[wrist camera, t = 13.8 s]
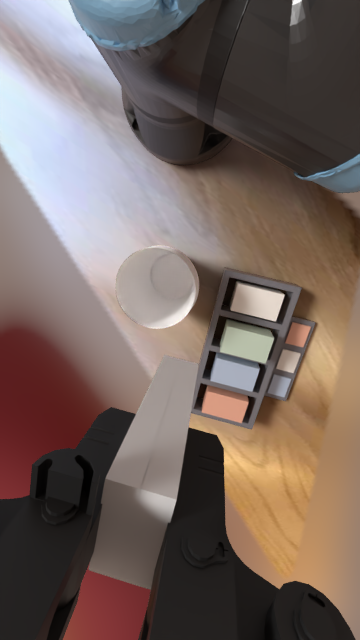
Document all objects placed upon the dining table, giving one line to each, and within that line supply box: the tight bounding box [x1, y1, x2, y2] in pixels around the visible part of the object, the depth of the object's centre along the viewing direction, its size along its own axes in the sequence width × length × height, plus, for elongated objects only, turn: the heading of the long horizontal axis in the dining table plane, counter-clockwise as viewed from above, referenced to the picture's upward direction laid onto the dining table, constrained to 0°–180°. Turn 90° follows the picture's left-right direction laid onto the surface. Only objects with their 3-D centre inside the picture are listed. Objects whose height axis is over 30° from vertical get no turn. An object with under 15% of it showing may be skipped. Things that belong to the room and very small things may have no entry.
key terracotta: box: [202, 385, 249, 423], centre depth 43 cm, size 4×6×4 cm, turn 77°
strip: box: [264, 316, 315, 401], centre depth 42 cm, size 13×4×1 cm, turn 167°
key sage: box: [220, 319, 274, 364], centre depth 38 cm, size 4×6×4 cm, turn 77°
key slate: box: [211, 352, 260, 392], centre depth 41 cm, size 4×6×4 cm, turn 77°
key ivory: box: [230, 280, 285, 321], centre depth 38 cm, size 4×6×4 cm, turn 77°
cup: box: [116, 245, 199, 329], centre depth 36 cm, size 9×9×12 cm
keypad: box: [191, 267, 302, 429], centre depth 41 cm, size 22×10×4 cm, turn 167°
